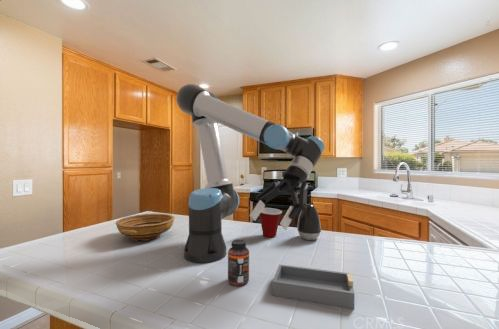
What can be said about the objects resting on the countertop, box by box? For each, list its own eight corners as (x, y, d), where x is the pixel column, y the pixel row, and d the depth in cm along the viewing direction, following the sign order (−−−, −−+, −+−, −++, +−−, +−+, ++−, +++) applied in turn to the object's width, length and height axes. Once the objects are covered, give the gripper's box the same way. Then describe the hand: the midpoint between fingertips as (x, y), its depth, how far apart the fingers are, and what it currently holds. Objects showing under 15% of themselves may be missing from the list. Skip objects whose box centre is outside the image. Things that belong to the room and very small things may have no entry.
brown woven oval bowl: (153, 250, 91) (153, 229, 91) (96, 246, 94) (96, 226, 94) (185, 228, 120) (185, 213, 120) (141, 226, 124) (141, 211, 124)
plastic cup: (275, 241, 101) (275, 213, 101) (253, 237, 106) (253, 210, 106) (285, 234, 110) (285, 208, 110) (265, 231, 116) (265, 206, 115)
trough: (272, 295, 60) (272, 276, 60) (279, 276, 70) (279, 260, 70) (354, 308, 54) (354, 288, 54) (349, 286, 64) (349, 268, 64)
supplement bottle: (246, 288, 63) (246, 245, 63) (225, 285, 65) (225, 244, 64) (251, 277, 69) (251, 238, 69) (231, 275, 70) (231, 237, 70)
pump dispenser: (294, 235, 110) (294, 202, 110) (316, 234, 111) (316, 201, 110) (300, 242, 100) (300, 206, 99) (324, 241, 100) (324, 205, 100)
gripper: (334, 181, 75) (304, 239, 65) (277, 177, 94) (247, 221, 85) (325, 164, 71) (292, 223, 62) (267, 164, 91) (235, 208, 81)
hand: (266, 222), depth 73 cm, fingers open, 13 cm apart
